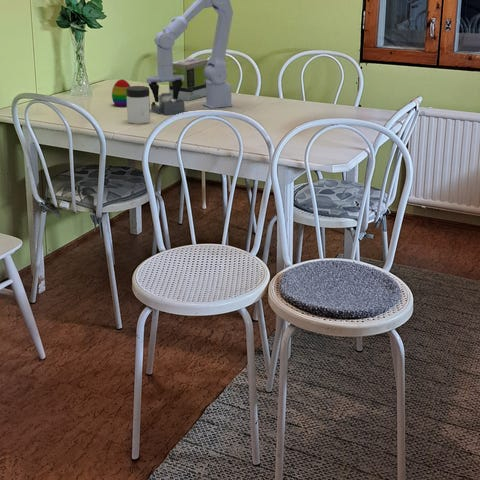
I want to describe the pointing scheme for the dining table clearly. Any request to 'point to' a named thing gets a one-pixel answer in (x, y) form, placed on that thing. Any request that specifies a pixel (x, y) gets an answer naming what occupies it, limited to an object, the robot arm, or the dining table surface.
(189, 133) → the dining table surface
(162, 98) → the pump
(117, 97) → the decorative egg
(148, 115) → the jar
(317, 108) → the dining table surface
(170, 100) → the motor cradle
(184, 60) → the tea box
